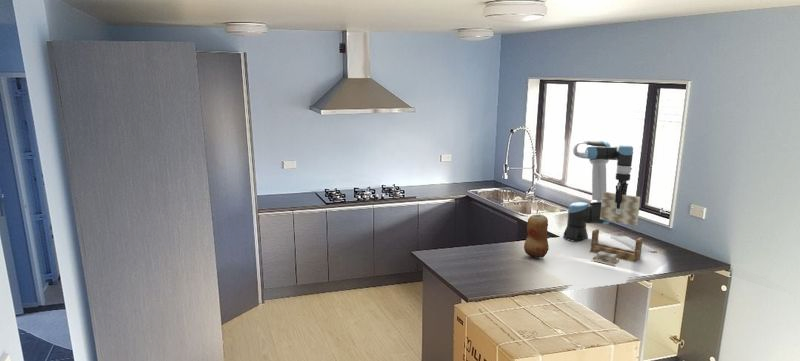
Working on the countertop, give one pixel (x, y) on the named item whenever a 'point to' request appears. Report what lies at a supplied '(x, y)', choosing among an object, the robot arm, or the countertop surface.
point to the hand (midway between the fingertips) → (619, 213)
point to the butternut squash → (537, 236)
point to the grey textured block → (606, 261)
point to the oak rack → (616, 248)
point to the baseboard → (632, 243)
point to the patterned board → (627, 210)
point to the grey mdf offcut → (606, 256)
